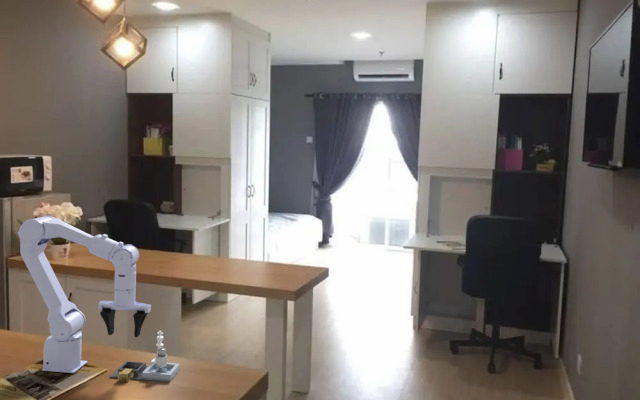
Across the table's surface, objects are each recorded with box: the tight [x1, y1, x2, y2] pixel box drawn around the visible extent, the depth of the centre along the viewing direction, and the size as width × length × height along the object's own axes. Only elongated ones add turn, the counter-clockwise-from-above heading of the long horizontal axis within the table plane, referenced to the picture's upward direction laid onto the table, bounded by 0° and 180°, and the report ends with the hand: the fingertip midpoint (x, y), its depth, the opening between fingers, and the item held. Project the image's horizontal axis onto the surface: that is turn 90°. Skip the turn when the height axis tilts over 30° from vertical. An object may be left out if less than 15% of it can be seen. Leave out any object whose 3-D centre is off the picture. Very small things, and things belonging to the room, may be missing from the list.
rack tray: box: [141, 362, 181, 383], centre depth 155 cm, size 8×8×2 cm
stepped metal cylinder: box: [155, 347, 169, 373], centre depth 155 cm, size 3×3×7 cm
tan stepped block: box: [117, 368, 134, 383], centre depth 152 cm, size 3×4×2 cm
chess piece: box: [150, 330, 164, 364], centre depth 163 cm, size 5×5×10 cm
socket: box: [109, 360, 149, 381], centre depth 156 cm, size 9×9×2 cm
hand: (124, 335), depth 156 cm, fingers open, 7 cm apart
